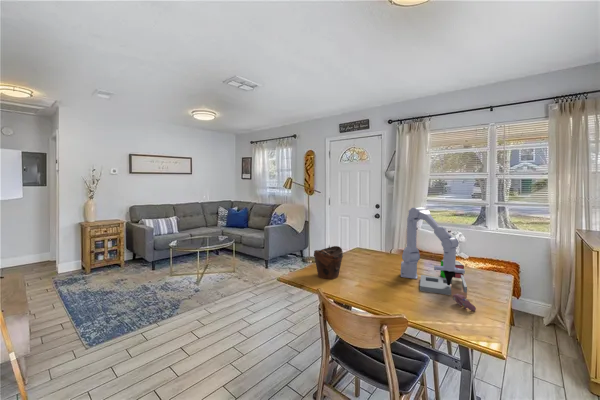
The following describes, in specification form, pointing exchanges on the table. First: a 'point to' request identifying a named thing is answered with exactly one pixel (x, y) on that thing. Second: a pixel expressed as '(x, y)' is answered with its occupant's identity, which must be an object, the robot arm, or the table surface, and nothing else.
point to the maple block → (456, 283)
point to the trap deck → (441, 285)
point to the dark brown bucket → (328, 262)
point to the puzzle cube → (456, 275)
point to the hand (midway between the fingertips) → (448, 284)
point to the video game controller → (463, 302)
